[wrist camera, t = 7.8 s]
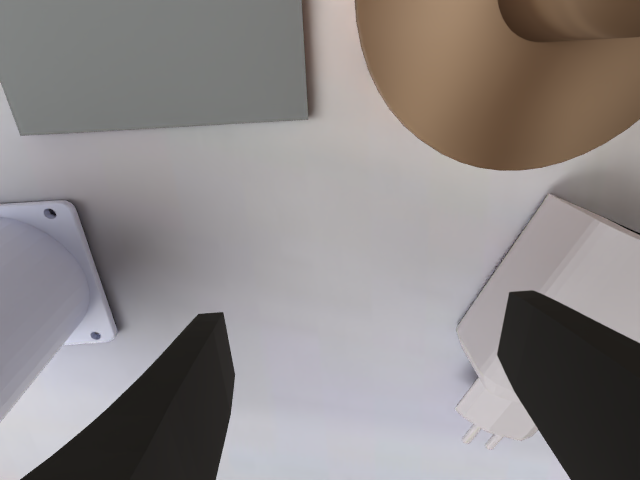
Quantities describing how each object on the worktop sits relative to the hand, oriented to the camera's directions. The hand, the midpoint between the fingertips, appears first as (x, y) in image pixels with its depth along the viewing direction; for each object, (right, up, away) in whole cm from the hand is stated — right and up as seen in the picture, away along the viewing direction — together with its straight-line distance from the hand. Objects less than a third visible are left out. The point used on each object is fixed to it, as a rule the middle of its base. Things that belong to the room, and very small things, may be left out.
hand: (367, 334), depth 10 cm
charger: (+11, -3, +13) cm, 18 cm away
